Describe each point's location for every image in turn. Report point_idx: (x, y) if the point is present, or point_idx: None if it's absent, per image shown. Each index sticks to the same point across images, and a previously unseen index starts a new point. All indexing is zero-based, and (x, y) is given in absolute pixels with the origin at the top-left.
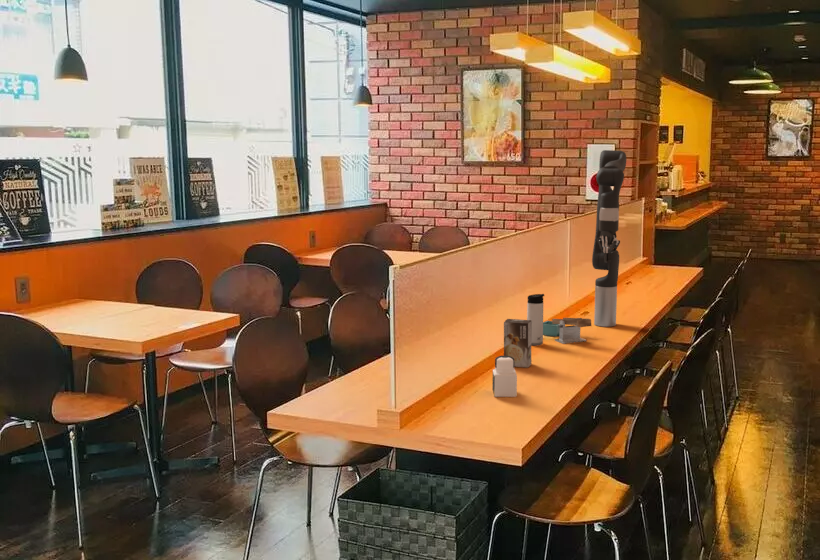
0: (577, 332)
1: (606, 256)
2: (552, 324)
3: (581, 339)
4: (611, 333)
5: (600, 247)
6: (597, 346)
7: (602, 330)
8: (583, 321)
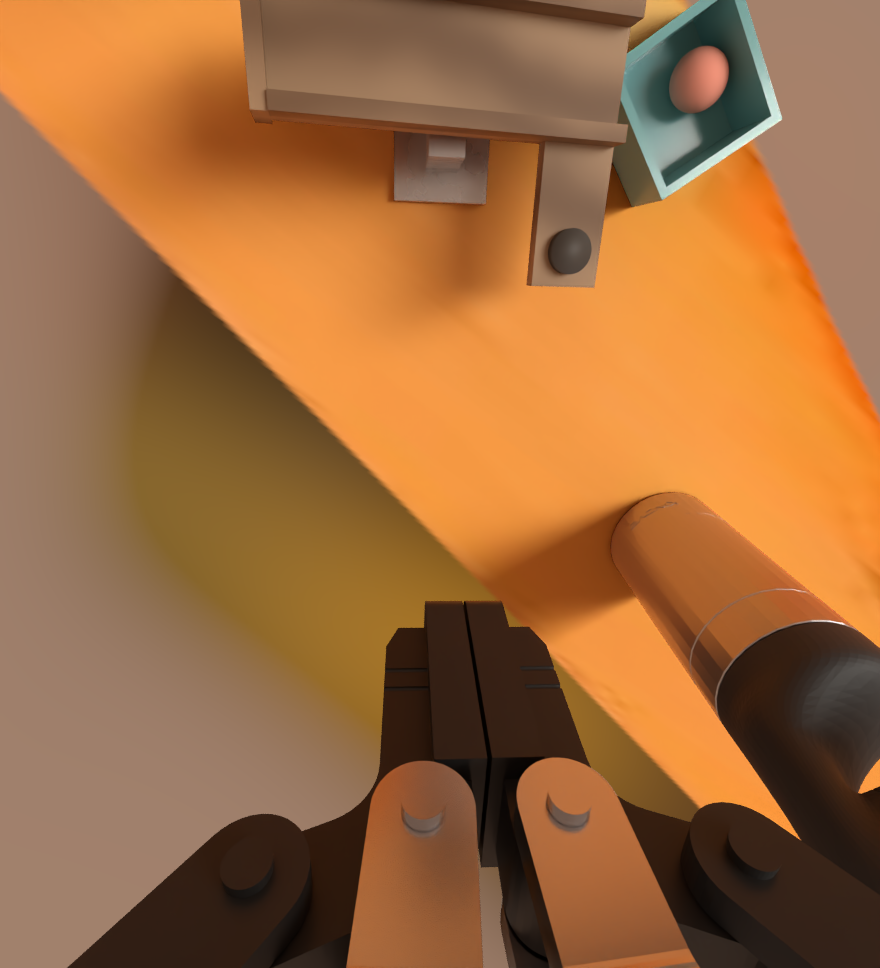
0: (427, 137)
1: (437, 688)
2: (724, 143)
3: (414, 174)
4: (494, 454)
5: (875, 919)
6: (251, 174)
7: (572, 455)
8: (241, 15)
